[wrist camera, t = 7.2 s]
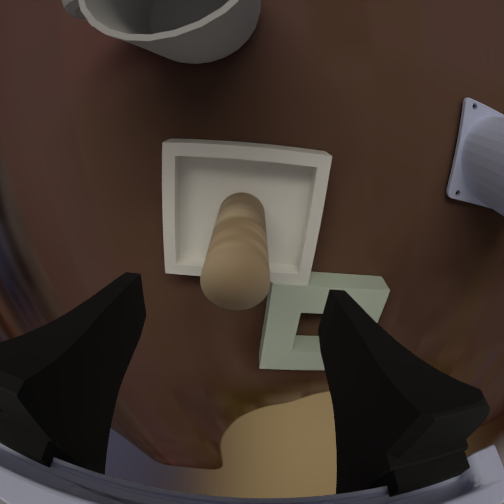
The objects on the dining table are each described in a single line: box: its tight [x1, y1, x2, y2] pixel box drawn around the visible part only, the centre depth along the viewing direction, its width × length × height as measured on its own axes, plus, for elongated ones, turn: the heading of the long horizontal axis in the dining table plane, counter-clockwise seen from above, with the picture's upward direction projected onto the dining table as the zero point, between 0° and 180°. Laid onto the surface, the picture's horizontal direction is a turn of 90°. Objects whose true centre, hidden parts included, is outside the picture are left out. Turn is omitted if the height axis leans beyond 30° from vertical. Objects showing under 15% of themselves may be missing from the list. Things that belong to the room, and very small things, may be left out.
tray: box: [162, 139, 332, 285], centre depth 20 cm, size 10×9×2 cm
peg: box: [200, 192, 270, 310], centre depth 17 cm, size 3×3×8 cm
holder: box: [259, 272, 390, 370], centre depth 24 cm, size 9×9×2 cm
